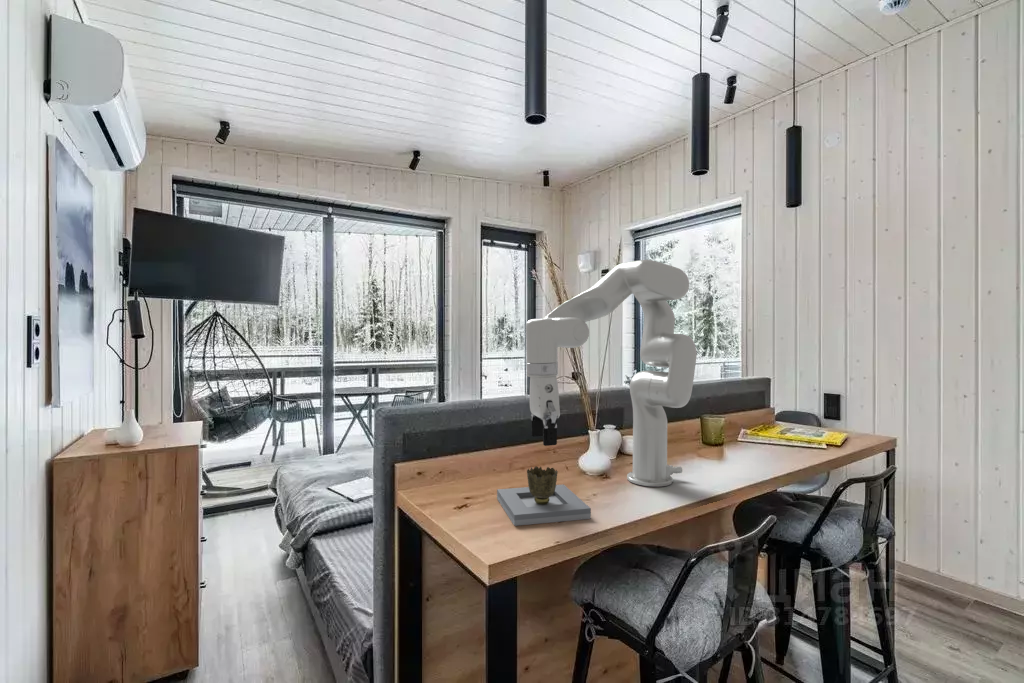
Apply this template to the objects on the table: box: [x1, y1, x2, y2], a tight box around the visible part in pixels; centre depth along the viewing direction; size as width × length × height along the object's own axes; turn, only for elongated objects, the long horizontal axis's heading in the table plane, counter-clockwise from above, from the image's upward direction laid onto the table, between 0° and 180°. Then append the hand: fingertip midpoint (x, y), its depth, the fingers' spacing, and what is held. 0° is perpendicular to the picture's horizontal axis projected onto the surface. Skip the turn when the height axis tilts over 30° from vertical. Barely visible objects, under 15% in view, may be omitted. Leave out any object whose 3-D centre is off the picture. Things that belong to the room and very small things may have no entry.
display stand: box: [496, 484, 592, 527], centre depth 118 cm, size 18×18×2 cm
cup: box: [526, 465, 559, 505], centre depth 118 cm, size 8×7×8 cm
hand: (543, 440), depth 118 cm, fingers open, 9 cm apart
